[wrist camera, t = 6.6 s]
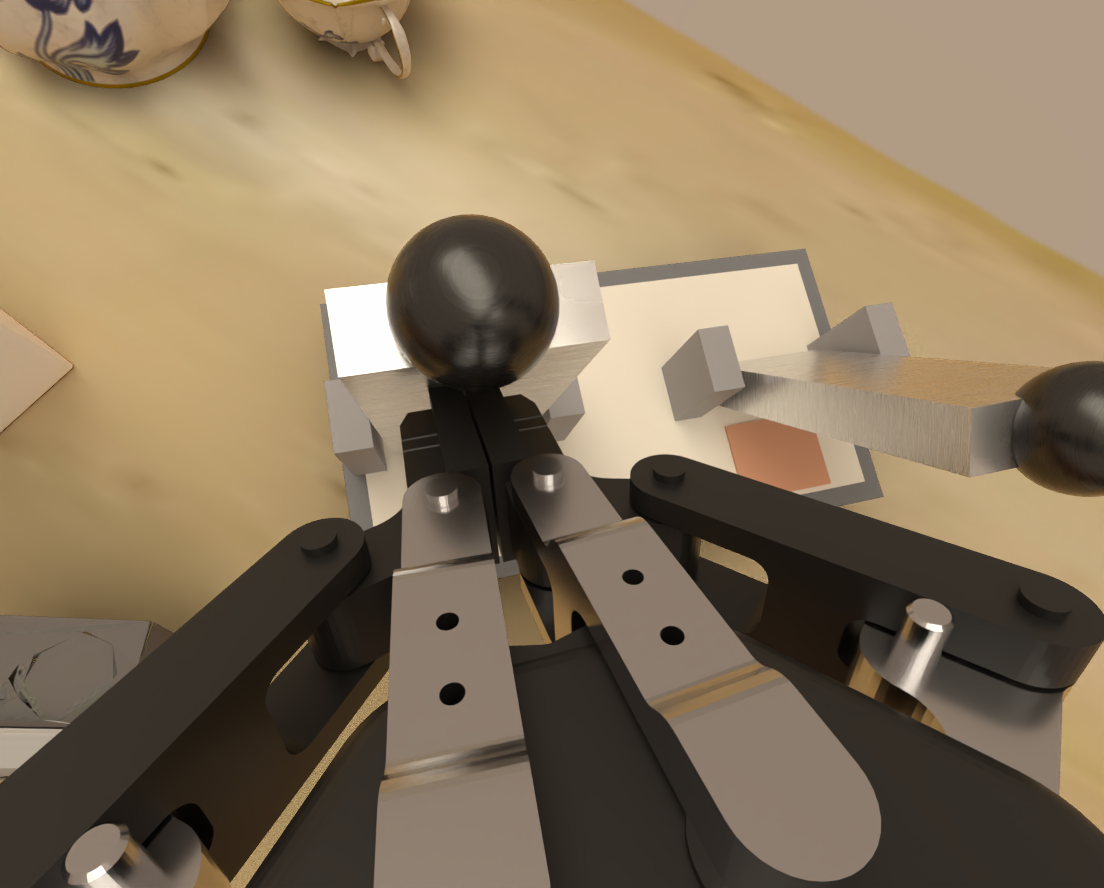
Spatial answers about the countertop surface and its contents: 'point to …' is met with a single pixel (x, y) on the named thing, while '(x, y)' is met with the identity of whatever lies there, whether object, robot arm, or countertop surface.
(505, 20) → the countertop surface
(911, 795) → the robot arm
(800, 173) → the countertop surface
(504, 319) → the lever outer
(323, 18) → the chinaware
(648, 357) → the switch panel
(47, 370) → the milk
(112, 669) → the electrical switch
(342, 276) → the countertop surface
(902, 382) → the lever inner
